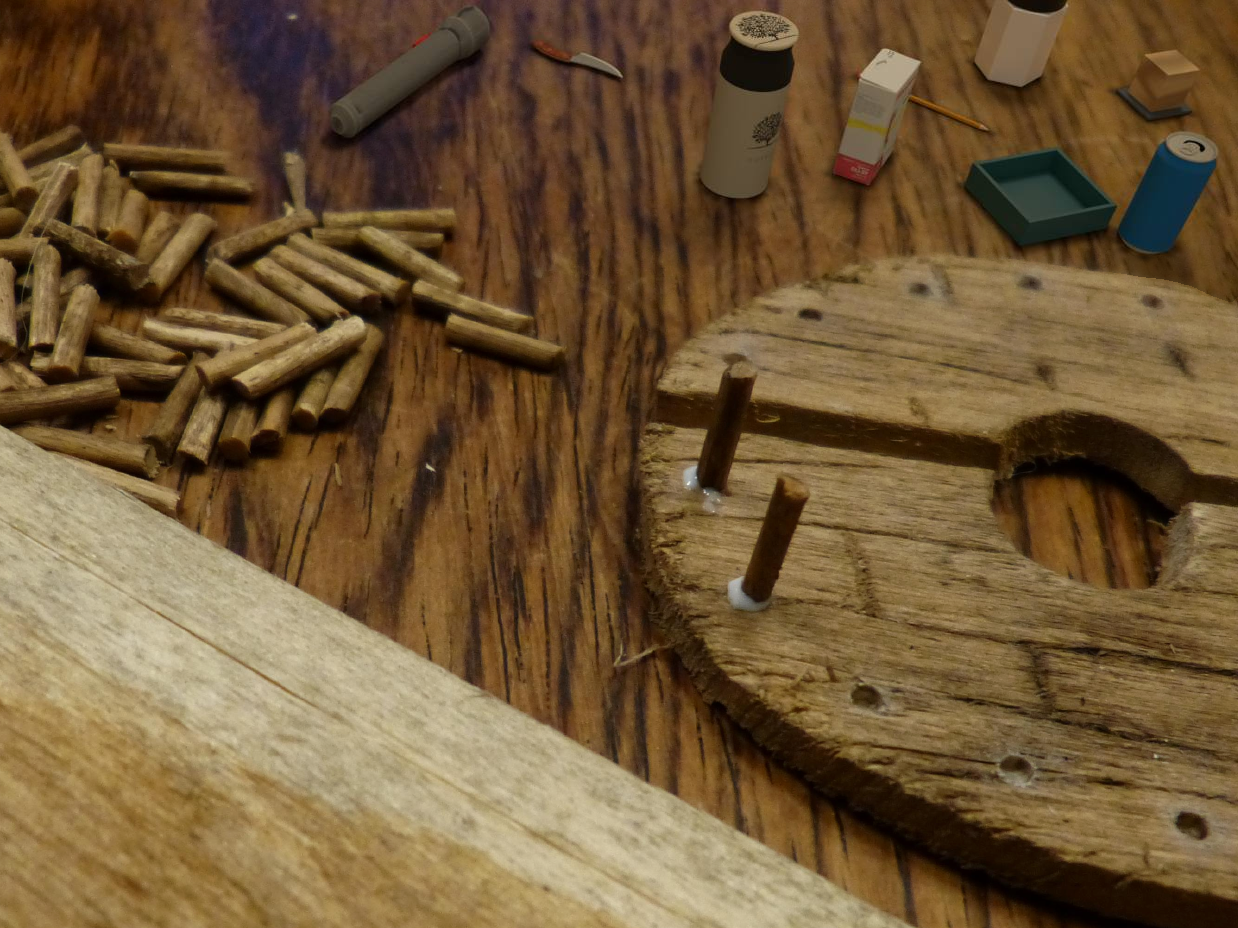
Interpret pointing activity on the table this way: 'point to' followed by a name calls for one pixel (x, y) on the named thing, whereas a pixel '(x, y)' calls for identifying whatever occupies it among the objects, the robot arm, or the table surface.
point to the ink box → (875, 115)
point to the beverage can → (1168, 192)
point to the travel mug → (749, 104)
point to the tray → (1039, 196)
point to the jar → (1019, 39)
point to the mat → (1144, 112)
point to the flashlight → (411, 71)
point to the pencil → (945, 112)
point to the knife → (575, 58)
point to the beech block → (1163, 80)
